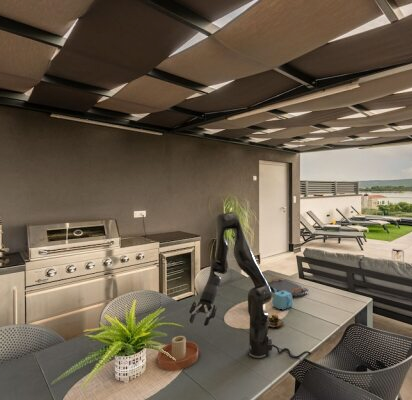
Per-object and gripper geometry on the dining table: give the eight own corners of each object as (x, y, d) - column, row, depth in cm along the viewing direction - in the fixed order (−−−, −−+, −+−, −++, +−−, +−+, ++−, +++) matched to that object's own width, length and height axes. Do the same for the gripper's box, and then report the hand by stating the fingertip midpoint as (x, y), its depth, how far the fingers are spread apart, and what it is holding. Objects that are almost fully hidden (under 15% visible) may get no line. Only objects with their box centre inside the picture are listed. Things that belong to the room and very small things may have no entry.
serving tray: (262, 286, 238) (262, 279, 238) (283, 281, 251) (283, 275, 251) (289, 300, 206) (289, 292, 206) (312, 294, 219) (312, 287, 218)
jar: (186, 352, 134) (187, 335, 134) (183, 360, 128) (184, 342, 128) (173, 353, 134) (174, 335, 133) (170, 360, 127) (170, 342, 127)
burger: (260, 321, 170) (261, 309, 170) (278, 319, 174) (278, 307, 174) (267, 330, 159) (267, 317, 159) (286, 327, 163) (286, 315, 163)
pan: (201, 347, 140) (201, 340, 140) (194, 369, 122) (194, 361, 122) (164, 348, 139) (165, 341, 139) (152, 371, 121) (152, 363, 121)
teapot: (279, 300, 205) (279, 285, 205) (296, 308, 191) (296, 292, 191) (266, 304, 197) (266, 288, 197) (283, 313, 183) (283, 296, 183)
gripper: (195, 289, 152) (183, 319, 142) (218, 292, 147) (207, 324, 137) (200, 294, 157) (189, 324, 147) (223, 298, 152) (212, 328, 143)
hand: (198, 324), depth 142 cm, fingers open, 8 cm apart
